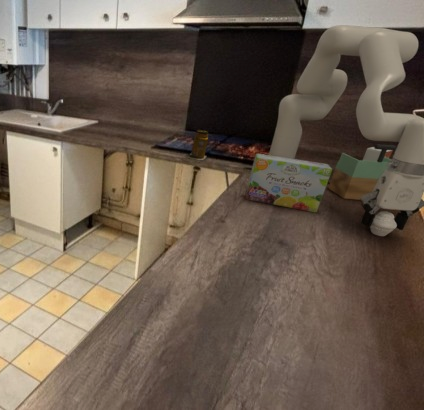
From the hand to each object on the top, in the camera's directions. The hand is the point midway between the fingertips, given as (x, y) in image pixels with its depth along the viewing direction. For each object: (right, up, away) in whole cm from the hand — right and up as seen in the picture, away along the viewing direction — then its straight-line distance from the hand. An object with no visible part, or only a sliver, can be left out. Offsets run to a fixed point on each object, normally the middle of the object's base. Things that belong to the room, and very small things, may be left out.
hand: (381, 226), depth 101 cm
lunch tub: (+16, +17, +26) cm, 35 cm away
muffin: (0, -2, +1) cm, 3 cm away
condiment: (-32, +28, +64) cm, 77 cm away
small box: (+34, +16, +47) cm, 60 cm away
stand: (+15, +10, +30) cm, 35 cm away
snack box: (-19, +6, +18) cm, 27 cm away
